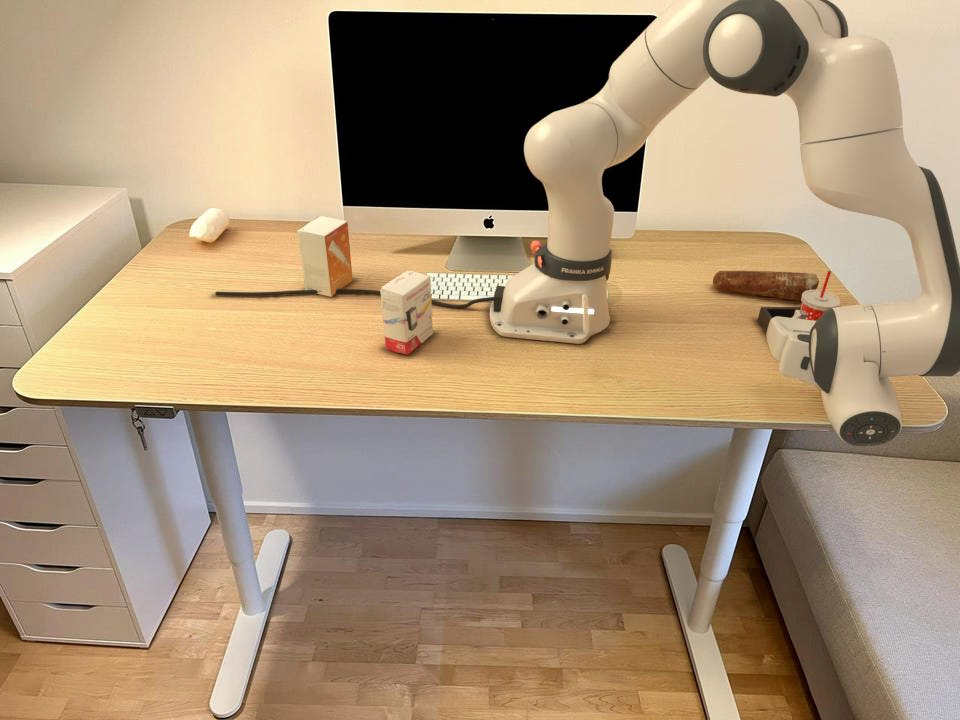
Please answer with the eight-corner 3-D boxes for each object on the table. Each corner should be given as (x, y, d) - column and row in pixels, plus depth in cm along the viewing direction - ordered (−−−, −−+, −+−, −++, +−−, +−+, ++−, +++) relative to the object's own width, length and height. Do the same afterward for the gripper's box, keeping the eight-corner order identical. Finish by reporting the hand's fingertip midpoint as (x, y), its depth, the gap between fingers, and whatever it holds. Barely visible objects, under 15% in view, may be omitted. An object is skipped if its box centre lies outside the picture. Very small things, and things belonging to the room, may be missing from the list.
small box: (332, 297, 139) (324, 236, 131) (304, 291, 141) (296, 230, 134) (354, 280, 145) (348, 220, 138) (327, 274, 147) (320, 215, 140)
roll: (185, 251, 155) (179, 227, 152) (206, 229, 165) (201, 206, 162) (212, 252, 155) (207, 228, 152) (232, 230, 165) (227, 207, 162)
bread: (812, 307, 138) (820, 282, 134) (711, 294, 142) (716, 268, 139) (809, 292, 143) (817, 267, 139) (711, 279, 147) (716, 255, 144)
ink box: (407, 357, 122) (403, 296, 115) (383, 349, 124) (378, 289, 117) (434, 334, 128) (432, 275, 121) (411, 326, 130) (408, 268, 124)
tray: (792, 371, 120) (796, 356, 118) (756, 320, 133) (760, 306, 132) (859, 370, 120) (865, 355, 118) (817, 320, 134) (822, 306, 132)
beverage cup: (829, 353, 123) (853, 281, 115) (792, 350, 124) (814, 278, 116) (821, 335, 128) (844, 264, 120) (785, 331, 129) (806, 262, 121)
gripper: (932, 355, 100) (906, 308, 111) (779, 337, 103) (769, 292, 115) (916, 391, 103) (893, 342, 114) (768, 372, 107) (760, 326, 118)
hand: (830, 317), depth 114 cm, fingers open, 8 cm apart
